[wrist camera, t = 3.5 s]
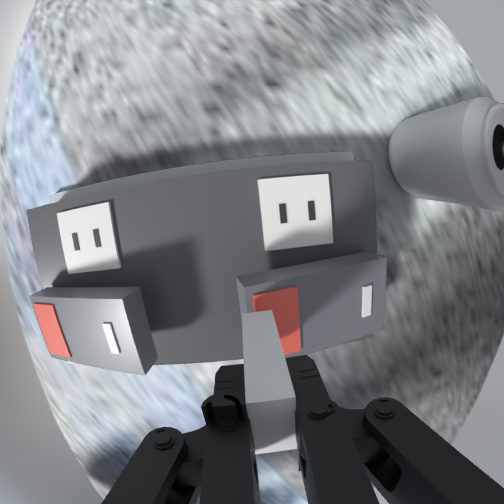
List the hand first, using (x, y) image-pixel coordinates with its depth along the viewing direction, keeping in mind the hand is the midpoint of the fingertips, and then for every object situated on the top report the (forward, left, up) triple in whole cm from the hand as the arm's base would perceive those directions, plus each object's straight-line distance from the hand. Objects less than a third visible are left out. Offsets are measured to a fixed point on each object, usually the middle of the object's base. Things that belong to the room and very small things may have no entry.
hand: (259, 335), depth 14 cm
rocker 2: (0, -4, -4) cm, 5 cm away
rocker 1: (0, +11, -4) cm, 12 cm away
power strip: (+2, +4, -10) cm, 11 cm away
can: (+9, -16, -10) cm, 21 cm away
